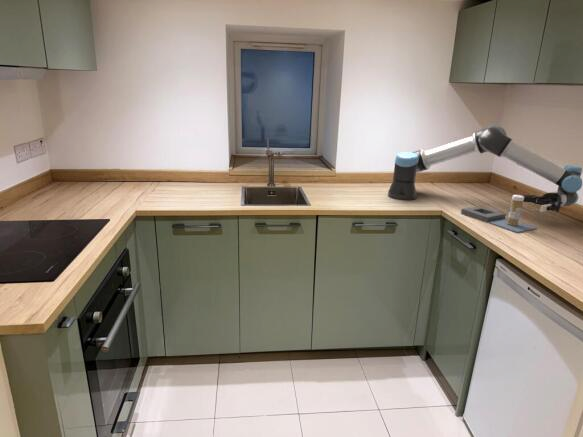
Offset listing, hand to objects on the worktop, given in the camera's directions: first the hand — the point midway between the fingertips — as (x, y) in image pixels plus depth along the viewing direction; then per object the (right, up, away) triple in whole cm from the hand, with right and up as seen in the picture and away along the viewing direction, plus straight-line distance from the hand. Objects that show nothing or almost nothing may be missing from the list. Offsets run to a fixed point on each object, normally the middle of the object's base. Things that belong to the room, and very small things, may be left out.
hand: (526, 204), depth 183 cm
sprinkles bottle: (-6, -9, +1) cm, 11 cm away
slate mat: (-6, -10, +1) cm, 11 cm away
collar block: (-13, -5, +13) cm, 19 cm away
